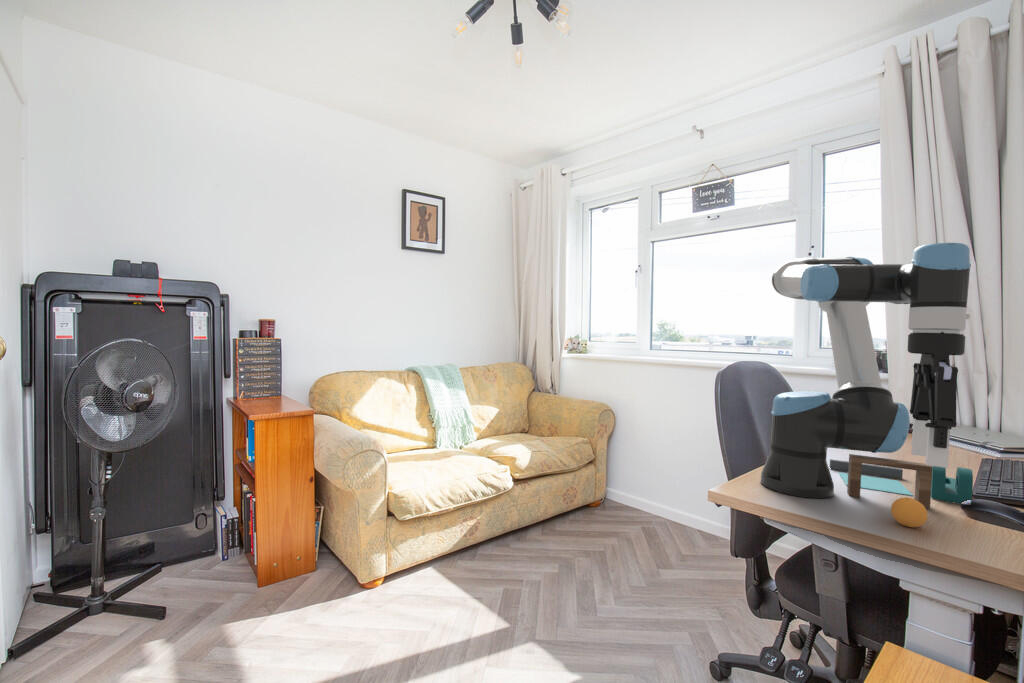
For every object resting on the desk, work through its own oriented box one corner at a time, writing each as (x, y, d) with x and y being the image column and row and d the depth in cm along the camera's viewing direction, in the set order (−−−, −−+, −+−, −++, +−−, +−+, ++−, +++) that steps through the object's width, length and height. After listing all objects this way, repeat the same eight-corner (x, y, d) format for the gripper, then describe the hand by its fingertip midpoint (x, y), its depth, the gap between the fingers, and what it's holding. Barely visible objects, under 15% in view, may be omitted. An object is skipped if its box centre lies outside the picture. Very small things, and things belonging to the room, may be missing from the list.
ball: (894, 527, 92) (895, 499, 91) (887, 518, 96) (888, 491, 96) (930, 534, 89) (932, 505, 89) (921, 524, 94) (923, 497, 94)
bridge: (929, 508, 103) (932, 467, 103) (849, 495, 110) (851, 456, 110) (925, 504, 106) (927, 463, 106) (847, 492, 113) (849, 453, 112)
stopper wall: (830, 469, 133) (830, 460, 133) (829, 467, 134) (829, 459, 134) (902, 479, 125) (902, 469, 125) (900, 477, 127) (901, 468, 127)
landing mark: (846, 485, 118) (846, 485, 118) (838, 472, 129) (838, 472, 129) (913, 496, 112) (913, 495, 112) (898, 481, 123) (898, 480, 123)
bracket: (971, 507, 106) (973, 472, 106) (931, 499, 110) (933, 466, 110) (961, 488, 120) (963, 457, 120) (926, 482, 124) (928, 452, 124)
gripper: (990, 332, 73) (981, 479, 73) (943, 333, 91) (936, 451, 91) (927, 330, 76) (919, 471, 77) (894, 332, 94) (887, 446, 95)
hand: (928, 460), depth 84 cm, fingers open, 8 cm apart
